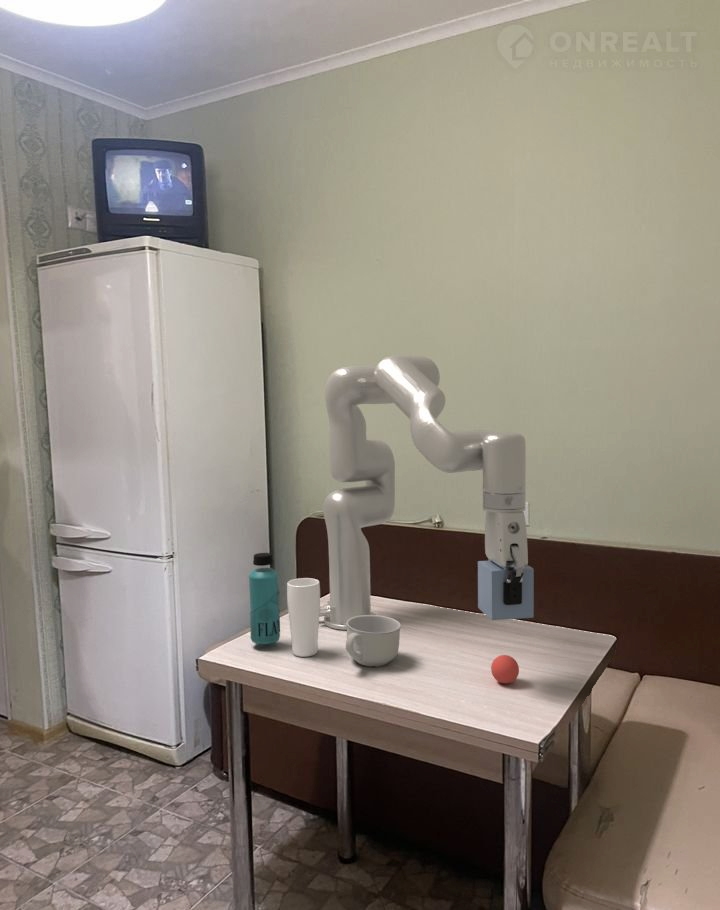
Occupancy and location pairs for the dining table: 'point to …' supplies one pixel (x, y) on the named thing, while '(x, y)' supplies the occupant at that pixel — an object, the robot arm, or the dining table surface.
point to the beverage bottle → (264, 601)
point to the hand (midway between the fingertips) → (504, 596)
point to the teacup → (372, 639)
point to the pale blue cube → (493, 592)
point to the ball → (505, 669)
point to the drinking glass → (304, 615)
